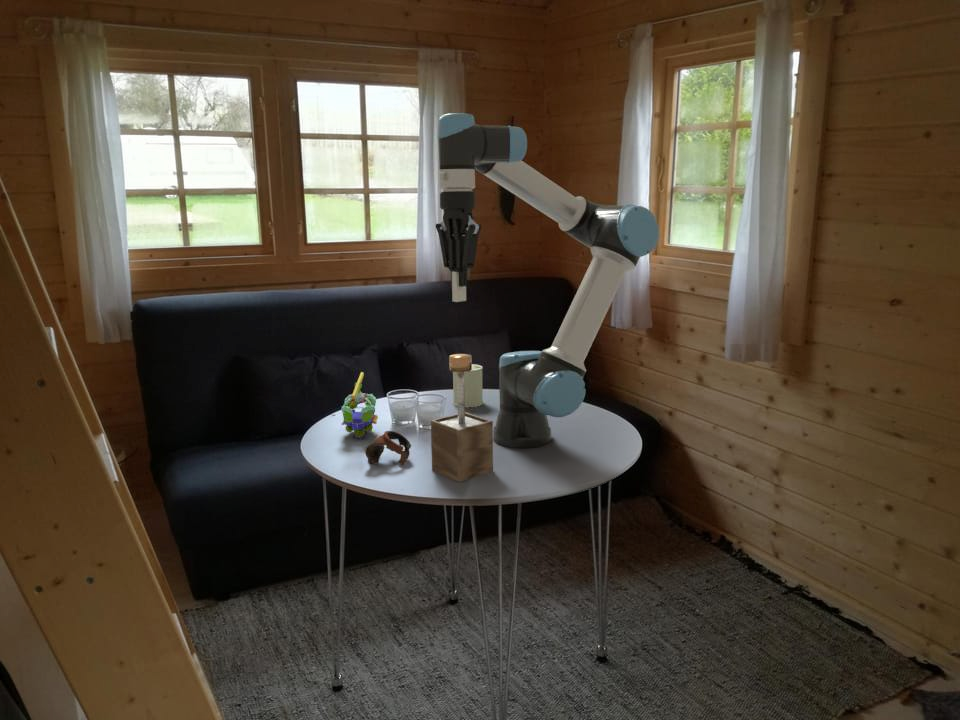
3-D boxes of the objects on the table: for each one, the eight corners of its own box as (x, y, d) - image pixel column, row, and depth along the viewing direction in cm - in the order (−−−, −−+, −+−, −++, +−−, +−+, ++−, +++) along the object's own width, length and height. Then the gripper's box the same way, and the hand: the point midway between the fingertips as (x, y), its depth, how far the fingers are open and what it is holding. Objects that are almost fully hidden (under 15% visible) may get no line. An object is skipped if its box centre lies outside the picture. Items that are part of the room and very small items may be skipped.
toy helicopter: (374, 450, 182) (371, 394, 179) (338, 451, 181) (334, 395, 178) (380, 420, 206) (378, 370, 203) (348, 421, 206) (345, 371, 202)
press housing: (465, 459, 174) (464, 411, 172) (493, 471, 167) (492, 421, 164) (432, 470, 168) (430, 420, 165) (459, 482, 161) (458, 430, 158)
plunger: (463, 419, 171) (462, 351, 167) (486, 427, 165) (485, 356, 161) (436, 426, 166) (435, 356, 162) (459, 434, 160) (457, 361, 156)
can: (483, 407, 218) (483, 368, 215) (453, 408, 217) (452, 369, 215) (482, 399, 227) (482, 362, 224) (453, 400, 226) (452, 362, 224)
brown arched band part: (380, 453, 181) (396, 426, 179) (405, 477, 177) (421, 449, 175) (348, 456, 171) (365, 427, 169) (374, 481, 166) (391, 452, 164)
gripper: (424, 191, 156) (427, 299, 161) (463, 190, 147) (465, 305, 152) (451, 191, 161) (454, 296, 166) (491, 190, 151) (491, 302, 157)
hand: (459, 300), depth 159 cm, fingers closed
